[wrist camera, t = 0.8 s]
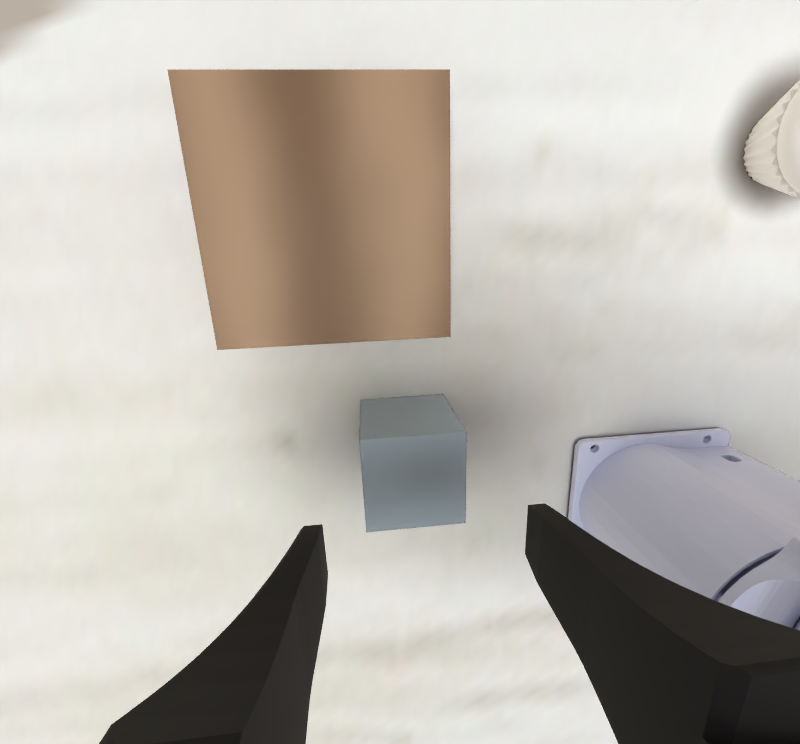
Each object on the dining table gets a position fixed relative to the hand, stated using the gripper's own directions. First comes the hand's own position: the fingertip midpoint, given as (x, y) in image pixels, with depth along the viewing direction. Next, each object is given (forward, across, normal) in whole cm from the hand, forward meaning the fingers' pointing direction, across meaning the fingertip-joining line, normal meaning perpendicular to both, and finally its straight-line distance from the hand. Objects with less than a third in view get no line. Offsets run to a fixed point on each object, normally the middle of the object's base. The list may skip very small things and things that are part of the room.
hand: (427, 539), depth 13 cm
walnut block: (+8, +3, -11) cm, 14 cm away
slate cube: (+8, 0, 0) cm, 8 cm away
